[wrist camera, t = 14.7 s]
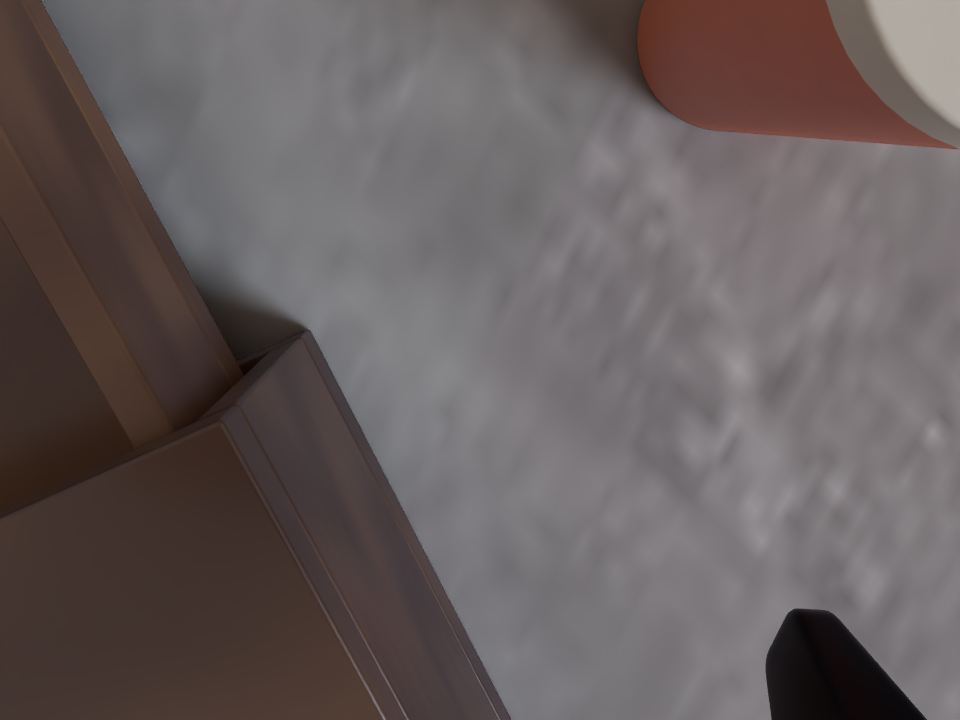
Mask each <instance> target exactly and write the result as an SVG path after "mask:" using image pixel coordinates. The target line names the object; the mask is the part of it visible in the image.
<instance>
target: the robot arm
mask: <svg viewBox="0 0 960 720" xmlns="http://www.w3.org/2000/svg"><path fill="white" fill-rule="evenodd" d="M766 679H767V687H768V695H769V702H770V710H771V718H772V720H927V719H926V718H925V717H924V716H923V715H922V713H921V712H920V711H919V710H918V709H917V708H916V707H915V705H914V704H913V703H912V702H911V701H910V700H909V699H908V697H907V696H906V695H905V694H904V693H903V692H902V691H901V689H900V688H899V687H898V686H897V685H896V684H895V683H894V681H893V680H892V679H891V678H890V677H889V676H888V675H887V673H886V672H885V671H884V670H883V669H882V668H881V667H880V665H879V664H878V663H877V662H876V661H875V660H874V659H873V657H872V656H871V655H870V654H869V653H868V652H867V651H866V649H865V648H864V647H863V646H862V645H861V644H860V643H859V642H858V640H857V639H856V638H855V637H854V636H853V635H852V634H851V632H850V631H849V630H848V629H847V628H846V627H845V626H844V624H843V623H842V622H841V621H840V620H839V619H838V618H837V617H836V616H835V615H834V614H832V613H830V612H829V611H825V610H814V609H793V610H792V611H790V612H789V613H788V614H787V616H786V617H785V619H784V621H783V623H782V625H781V627H780V629H779V631H778V633H777V635H776V637H775V639H774V641H773V643H772V645H771V647H770V649H769V651H768V654H767V658H766Z"/></svg>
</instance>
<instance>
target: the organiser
mask: <svg viewBox="0 0 960 720" xmlns="http://www.w3.org/2000/svg"><path fill="white" fill-rule="evenodd" d="M237 364H238V365H239V367H240V369H241V371H242V373H243V375H244V377H243V378H242V379H241V380H239V381H238V382H237V383H236V384H235V385H234V386H233V387H232V388H231V389H230V390H229V391H228V392H227V393H226V394H225V395H224V396H223V397H222V398H221V399H220V400H219V401H217V402H216V403H215V404H214V405H213V406H212V407H211V408H210V409H209V410H208V411H207V412H206V413H205V414H204V415H203V416H202V417H201V418H200V419H199V420H198V421H197V422H195V423H193V424H191V425H189V426H186V427H184V428H182V429H180V430H177V431H175V432H173V433H171V434H168V435H166V436H164V437H162V438H159V439H157V440H155V441H153V442H151V443H148V444H146V445H144V446H142V447H139V448H137V449H135V450H133V451H130V452H128V453H126V454H124V455H121V456H119V457H117V458H115V459H112V460H110V461H108V462H106V463H104V464H101V465H99V466H97V467H95V468H92V469H90V470H88V471H86V472H83V473H81V474H79V475H77V476H74V477H72V478H70V479H68V480H65V481H63V482H61V483H59V484H57V485H54V486H52V487H50V488H48V489H45V490H43V491H41V492H39V493H36V494H34V495H32V496H30V497H27V498H25V499H23V500H21V501H18V502H16V503H14V504H12V505H9V506H7V507H5V508H3V509H1V510H0V720H511V718H510V716H509V714H508V712H507V710H506V708H505V706H504V705H503V703H502V701H501V699H500V697H499V695H498V693H497V691H496V689H495V687H494V685H493V683H492V681H491V679H490V677H489V676H488V674H487V672H486V670H485V668H484V666H483V664H482V662H481V660H480V658H479V656H478V654H477V652H476V650H475V648H474V646H473V645H472V643H471V641H470V639H469V637H468V635H467V633H466V631H465V629H464V627H463V625H462V623H461V621H460V619H459V617H458V615H457V614H456V612H455V610H454V608H453V606H452V604H451V602H450V600H449V598H448V596H447V594H446V592H445V590H444V588H443V586H442V585H441V583H440V581H439V579H438V577H437V575H436V573H435V571H434V569H433V567H432V565H431V563H430V561H429V559H428V557H427V555H426V554H425V552H424V550H423V548H422V546H421V544H420V542H419V540H418V538H417V536H416V534H415V532H414V530H413V528H412V526H411V524H410V523H409V521H408V519H407V517H406V515H405V513H404V511H403V509H402V507H401V505H400V503H399V501H398V499H397V497H396V495H395V494H394V492H393V490H392V488H391V486H390V484H389V482H388V480H387V478H386V476H385V474H384V472H383V470H382V468H381V466H380V464H379V463H378V461H377V459H376V457H375V455H374V453H373V451H372V449H371V447H370V445H369V443H368V441H367V439H366V437H365V435H364V433H363V432H362V430H361V428H360V426H359V424H358V422H357V420H356V418H355V416H354V414H353V412H352V410H351V408H350V406H349V404H348V403H347V401H346V399H345V397H344V395H343V393H342V391H341V389H340V387H339V385H338V383H337V381H336V379H335V377H334V375H333V373H332V372H331V370H330V368H329V366H328V364H327V362H326V360H325V358H324V356H323V354H322V352H321V350H320V348H319V346H318V344H317V342H316V341H315V339H314V337H313V335H312V333H311V331H310V330H305V331H303V332H301V333H298V334H296V335H294V336H292V337H290V338H287V339H285V340H283V341H281V342H279V343H276V344H274V345H272V346H270V347H268V348H265V349H263V350H261V351H259V352H257V353H254V354H252V355H250V356H248V357H246V358H243V359H241V360H239V361H237Z"/></svg>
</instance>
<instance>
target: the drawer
mask: <svg viewBox="0 0 960 720" xmlns="http://www.w3.org/2000/svg"><path fill="white" fill-rule="evenodd" d="M243 377H244V375H243V373H242V371H241V369H240V367H239V365H238V364H237V362H236V360H235V358H234V356H233V354H232V353H231V351H230V349H229V347H228V345H227V343H226V341H225V340H224V338H223V336H222V334H221V332H220V330H219V328H218V327H217V325H216V323H215V321H214V319H213V317H212V316H211V314H210V312H209V310H208V308H207V306H206V304H205V303H204V301H203V299H202V297H201V295H200V293H199V292H198V290H197V288H196V286H195V284H194V282H193V280H192V279H191V277H190V275H189V273H188V271H187V269H186V267H185V266H184V264H183V262H182V260H181V258H180V256H179V255H178V253H177V251H176V249H175V247H174V245H173V243H172V242H171V240H170V238H169V236H168V234H167V232H166V231H165V229H164V227H163V225H162V223H161V221H160V219H159V218H158V216H157V214H156V212H155V210H154V208H153V206H152V205H151V203H150V201H149V199H148V197H147V195H146V194H145V192H144V190H143V188H142V186H141V184H140V182H139V181H138V179H137V177H136V175H135V173H134V171H133V170H132V168H131V166H130V164H129V162H128V160H127V158H126V157H125V155H124V153H123V151H122V149H121V147H120V145H119V144H118V142H117V140H116V138H115V136H114V134H113V133H112V131H111V129H110V127H109V125H108V123H107V121H106V120H105V118H104V116H103V114H102V112H101V110H100V108H99V107H98V105H97V103H96V101H95V99H94V97H93V96H92V94H91V92H90V90H89V88H88V86H87V84H86V83H85V81H84V79H83V77H82V75H81V73H80V72H79V70H78V68H77V66H76V64H75V62H74V60H73V59H72V57H71V55H70V53H69V51H68V49H67V47H66V46H65V44H64V42H63V40H62V38H61V36H60V35H59V33H58V31H57V29H56V27H55V25H54V23H53V22H52V20H51V18H50V16H49V14H48V12H47V11H46V9H45V7H44V5H43V3H42V1H41V0H0V510H1V509H3V508H5V507H7V506H9V505H12V504H14V503H16V502H18V501H21V500H23V499H25V498H27V497H30V496H32V495H34V494H36V493H39V492H41V491H43V490H45V489H48V488H50V487H52V486H54V485H57V484H59V483H61V482H63V481H65V480H68V479H70V478H72V477H74V476H77V475H79V474H81V473H83V472H86V471H88V470H90V469H92V468H95V467H97V466H99V465H101V464H104V463H106V462H108V461H110V460H112V459H115V458H117V457H119V456H121V455H124V454H126V453H128V452H130V451H133V450H135V449H137V448H139V447H142V446H144V445H146V444H148V443H151V442H153V441H155V440H157V439H159V438H162V437H164V436H166V435H168V434H171V433H173V432H175V431H177V430H180V429H182V428H184V427H186V426H189V425H191V424H193V423H195V422H197V421H198V420H199V419H200V418H201V417H202V416H203V415H204V414H205V413H206V412H207V411H208V410H209V409H210V408H211V407H212V406H213V405H214V404H215V403H216V402H217V401H219V400H220V399H221V398H222V397H223V396H224V395H225V394H226V393H227V392H228V391H229V390H230V389H231V388H232V387H233V386H234V385H235V384H236V383H237V382H238V381H239V380H241V379H242V378H243Z"/></svg>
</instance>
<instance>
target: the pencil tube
mask: <svg viewBox="0 0 960 720" xmlns="http://www.w3.org/2000/svg"><path fill="white" fill-rule="evenodd" d="M637 46H638V56H639V60H640V65H641V69H642V71H643V74H644V77H645V79H646V81H647V83H648V85H649V87H650V89H651V91H652V92H653V93H654V95H655V96H656V98H657V99H658V100H659V101H660V102H661V103H662V105H663V106H664V107H665V108H666V109H667V110H669V111H670V112H671V113H673V114H674V115H675V116H676V117H678V118H680V119H682V120H683V121H685V122H687V123H689V124H692V125H694V126H697V127H700V128H704V129H708V130H716V131H727V132H740V133H753V134H766V135H779V136H792V137H805V138H818V139H831V140H844V141H857V142H870V143H883V144H896V145H910V146H923V147H936V148H949V149H960V0H645V2H644V4H643V7H642V11H641V14H640V18H639V24H638V33H637Z"/></svg>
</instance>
